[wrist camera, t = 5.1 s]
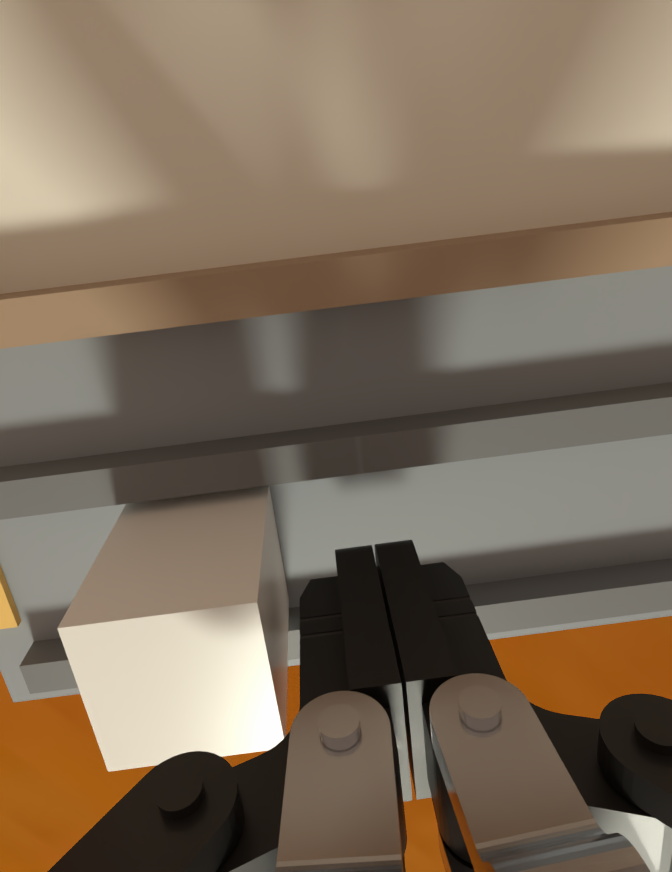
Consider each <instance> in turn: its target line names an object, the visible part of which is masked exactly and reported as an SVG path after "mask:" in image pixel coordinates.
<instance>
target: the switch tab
mask: <svg viewBox="0 0 672 872" xmlns="http://www.w3.org/2000/svg"><path fill="white" fill-rule="evenodd" d="M288 621H289V597H288V592H287V586H286V580H285V574H284V568H283V563H282V557H281V551H280V545H279V539H278V534H277V528H276V522H275V516H274V510H273V505H272V499H271V493H270V487H269V486H261V487H254V488H246V489H238V490H230V491H222V492H214V493H207V494H199V495H191V496H183V497H175V498H167V499H160V500H152V501H144V502H136V503H128V504H126V505H125V507H124V509H123V511H122V513H121V514H120V516H119V518H118V520H117V522H116V523H115V525H114V527H113V529H112V531H111V532H110V534H109V536H108V538H107V540H106V541H105V543H104V545H103V547H102V549H101V550H100V552H99V554H98V556H97V558H96V559H95V561H94V563H93V565H92V567H91V568H90V570H89V572H88V574H87V576H86V577H85V579H84V581H83V583H82V585H81V586H80V588H79V590H78V592H77V594H76V595H75V597H74V599H73V601H72V603H71V604H70V606H69V608H68V610H67V612H66V613H65V615H64V617H63V619H62V621H61V622H60V624H59V626H58V628H57V629H58V632H59V635H60V638H61V641H62V643H63V646H64V649H65V652H66V655H67V657H68V660H69V663H70V666H71V669H72V671H73V674H74V677H75V680H76V683H77V685H78V688H79V691H80V694H81V697H82V700H83V702H84V705H85V708H86V711H87V714H88V716H89V719H90V722H91V725H92V728H93V730H94V733H95V736H96V739H97V742H98V744H99V747H100V750H101V753H102V756H103V758H104V761H105V764H106V767H107V770H108V772H109V771H117V770H124V769H132V768H139V767H147V766H154V765H159V764H160V763H162V762H163V761H165V760H167V759H169V758H171V757H174V756H176V755H179V754H182V753H186V752H193V751H205V752H210V753H214V754H216V755H218V756H221V757H222V756H229V755H237V754H244V753H252V752H259V751H267V750H270V749H272V748H273V747H275V746H276V745H277V744H278V743H280V742H281V741H282V740H283V739H284V738H285V737H286V715H287V668H288Z"/></svg>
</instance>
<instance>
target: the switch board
mask: <svg viewBox="0 0 672 872" xmlns="http://www.w3.org/2000/svg"><path fill="white" fill-rule="evenodd" d="M261 486H269V487H270V493H271V499H272V505H273V510H274V516H275V522H276V528H277V534H278V539H279V545H280V551H281V557H282V563H283V568H284V574H285V580H286V586H287V592H288V597H289V621H288V666H294V665H300V597H301V595H302V593H303V591H304V590H305V588H306V586H307V585H308V583H309V581H310V580H311V579H318V578H326V577H334V576H337V567H336V557H335V550H336V549H344V548H351V547H359V546H367V545H372V548H373V553H374V557H375V547H374V545H375V544H381V543H388V542H396V541H404V540H412V541H413V543H414V546H415V549H416V552H417V555H418V558H419V561H420V564H421V565H424V564H432V563H439V562H444V563H445V564H447V565H448V566H449V567H450V568H451V569H453V570H454V571H455V572H456V573H457V574H459V575H460V576H461V577H462V579H463V582H464V584H465V586H466V589H467V591H468V593H469V595H470V600H472V602H473V605H474V607H475V609H476V613H477V616H479V619H480V621H481V623H482V626H483V628H484V630H485V633H486V635H487V637H488V640H491V639H499V638H506V637H514V636H521V635H529V634H537V633H544V632H552V631H559V630H567V629H575V628H582V627H590V626H597V625H605V624H613V623H620V622H628V621H635V620H643V619H650V618H658V617H666V616H672V0H0V670H1V673H2V675H3V678H4V680H5V683H6V685H7V687H8V690H9V692H10V695H11V697H12V700H13V702H20V701H28V700H35V699H43V698H51V697H58V696H66V695H73V694H80V691H79V688H78V685H77V683H76V680H75V677H74V674H73V671H72V669H71V666H70V663H69V660H68V657H67V655H66V652H65V649H64V646H63V643H62V641H61V638H60V635H59V632H58V629H57V628H58V626H59V624H60V622H61V621H62V619H63V617H64V615H65V613H66V612H67V610H68V608H69V606H70V604H71V603H72V601H73V599H74V597H75V595H76V594H77V592H78V590H79V588H80V586H81V585H82V583H83V581H84V579H85V577H86V576H87V574H88V572H89V570H90V568H91V567H92V565H93V563H94V561H95V559H96V558H97V556H98V554H99V552H100V550H101V549H102V547H103V545H104V543H105V541H106V540H107V538H108V536H109V534H110V532H111V531H112V529H113V527H114V525H115V523H116V522H117V520H118V518H119V516H120V514H121V513H122V511H123V509H124V507H125V505H126V504H128V503H136V502H144V501H152V500H160V499H167V498H175V497H183V496H191V495H199V494H207V493H214V492H222V491H230V490H238V489H246V488H254V487H261ZM375 562H376V559H375Z"/></svg>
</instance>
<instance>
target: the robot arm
mask: <svg viewBox="0 0 672 872" xmlns="http://www.w3.org/2000/svg"><path fill="white" fill-rule="evenodd" d="M374 547H375V557H374V553H373V548H372V545H367V546H359V547H351V548H344V549H336V550H335V557H336V567H337V576H334V577H326V578H318V579H311V580H310V581H309V583H308V585H307V586H306V588H305V590H304V591H303V593H302V595H301V597H300V710H299V713H298V714H297V716H296V717H295V719H294V721H293V723H292V726H291V730H290V732H289V733H288V734H287V736H286V737H285V738H284V739H283V740H282V741H281V742H280V743H278V744H277V745H276V746H275V747H273V748H272V749H270V750H269V751H267V752H265V753H263V754H261V755H259V756H257V757H255V758H253V759H251V760H248V761H246V762H244V763H241V764H239V765H237V766H235V767H231V766H230V764H229V763H228V762H227V761H226V760H225V759H223V758H222V757H221V756H218V755H216V754H214V753H210V752H205V751H193V752H186V753H182V754H179V755H176V756H174V757H171V758H169V759H167V760H165V761H163V762H162V763H160V764H159V765H157V766H156V767H154V768H153V769H152V770H151V771H150V772H149V773H148V774H146V775H145V776H144V777H143V778H142V779H141V780H140V781H139V782H138V783H137V784H136V785H135V786H134V787H133V788H132V789H131V790H130V791H129V792H128V793H127V794H126V795H125V796H124V797H123V798H122V799H121V800H120V801H119V802H118V803H117V804H116V805H115V806H114V807H113V808H112V809H111V810H110V811H109V812H108V813H107V814H106V815H105V816H104V817H103V818H102V819H101V820H100V821H99V822H98V823H97V824H96V825H95V826H94V827H93V828H92V829H91V830H90V831H89V832H87V833H86V834H85V835H84V836H83V837H82V838H81V839H80V840H79V841H78V842H77V843H76V844H75V845H74V846H73V847H72V848H71V849H70V850H69V851H68V852H67V853H66V854H65V855H64V856H63V857H62V858H61V859H60V860H59V861H58V862H57V863H56V864H55V865H54V866H53V867H52V868H51V869H50V870H49V871H48V872H406V868H405V857H404V853H405V849H406V843H407V834H406V824H405V814H404V804H403V802H404V801H411V800H412V791H411V780H410V770H409V764H410V769H411V774H412V779H413V784H414V789H415V794H416V799H424V798H431V797H432V801H433V805H434V810H435V814H436V819H437V823H438V837H439V848H440V853H441V857H442V860H443V864H444V867H445V871H446V872H672V700H670V699H667V698H664V697H661V696H656V695H650V694H630V695H625V696H622V697H619V698H616V699H615V700H613V701H611V702H610V703H609V704H608V705H607V706H606V707H605V708H604V710H603V711H602V713H601V716H600V719H594V718H587V717H579V716H572V715H565V714H560V713H555V712H551V711H548V710H545V709H542V708H540V707H538V706H535V705H534V704H532V703H530V702H529V701H528V700H527V698H526V697H525V695H524V694H523V693H522V692H521V691H520V690H519V689H518V688H516V687H515V686H514V685H513V684H511V683H509V682H507V680H506V678H505V676H504V674H503V672H502V670H501V667H500V665H499V663H498V660H497V658H496V656H495V653H494V651H493V649H492V646H491V644H490V642H489V640H488V637H487V635H486V633H485V630H484V628H483V626H482V623H481V621H480V619H479V616H477V613H476V609H475V607H474V605H473V602H472V600H470V595H469V593H468V591H467V589H466V586H465V584H464V582H463V579H462V577H461V576H460V575H459V574H457V573H456V572H455V571H454V570H453V569H451V568H450V567H449V566H448V565H447V564H445V563H444V562H439V563H432V564H424V565H421V564H420V561H419V558H418V555H417V552H416V549H415V546H414V543H413V541H412V540H404V541H396V542H388V543H381V544H375V545H374ZM375 559H376V562H375Z"/></svg>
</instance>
